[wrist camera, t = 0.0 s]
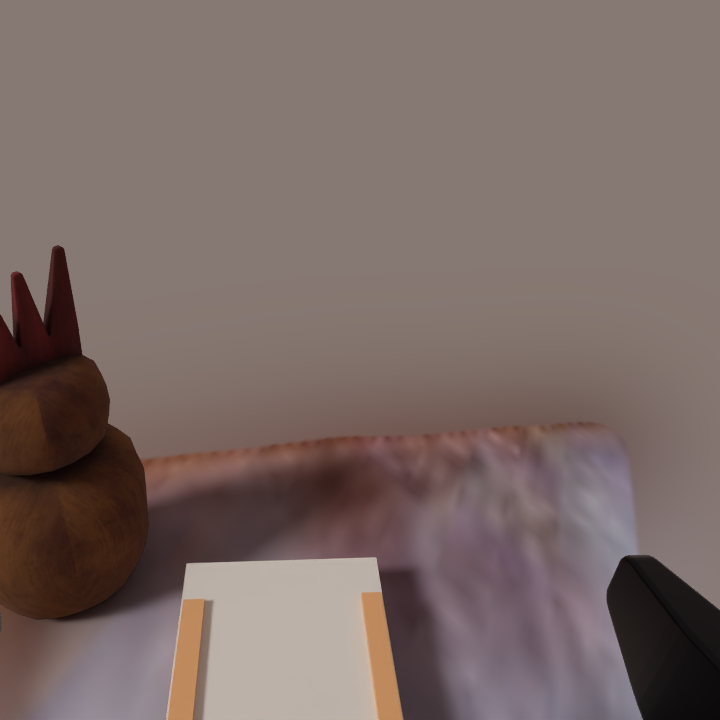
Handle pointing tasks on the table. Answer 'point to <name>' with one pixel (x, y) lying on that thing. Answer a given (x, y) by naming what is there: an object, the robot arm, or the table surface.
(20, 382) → the wooden figurine
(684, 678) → the robot arm
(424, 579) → the table surface
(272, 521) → the table surface
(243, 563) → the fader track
